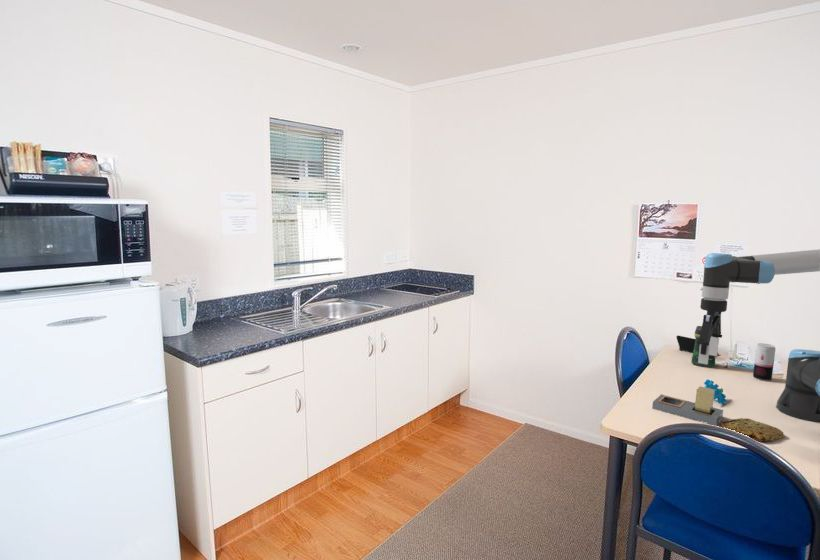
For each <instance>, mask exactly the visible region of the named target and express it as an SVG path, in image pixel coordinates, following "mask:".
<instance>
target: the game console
mask: <svg viewBox="0 0 820 560" xmlns="http://www.w3.org/2000/svg"><path fill="white" fill-rule="evenodd" d="M676 341H677V343H678V347H679V349H678V350H679V351H681V352H685V353H690V354H693V351H694V346H695V338H694V337H693V338H691V337H687V336H682V335H676ZM718 355H719V352H718V353H717V356H718Z"/></svg>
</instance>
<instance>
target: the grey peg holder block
mask: <svg viewBox="0 0 820 560" xmlns="http://www.w3.org/2000/svg"><path fill="white" fill-rule="evenodd" d="M652 409H654V410H657V411H660V410H661V411H662V412H664V411H665V412H664V413H668V412H669V413H668V414H671V413H673V414H672V415H675V414H677V415H676V416H679V415H680V416H679V417H682V416H683V418H686V419H690V420H693V421H694V420H695V421H697V422H701V421H703V422H702V423H704V422H707V423H706V424H708V425H713V426H715V425H718V424H719V423H720V421H721V420H722V419H723V417H724V409H720V408H716V407H713V410H712V415H709V414H705V413H701V412H698V411H695V402H693V401H690V400H689V401H688V400H685V399H681V398H677V397H673V396H670V395H665V394H660V395H659V396H658V397H656V398H655V399H654V400H653V401H652ZM661 411H660V412H661ZM698 420H699V421H698Z"/></svg>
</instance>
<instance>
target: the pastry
mask: <svg viewBox="0 0 820 560" xmlns="http://www.w3.org/2000/svg"><path fill="white" fill-rule="evenodd" d="M720 426H721V428H723V427H725V428H728V429H731V430H735V431H736V432H739V433H742V434H744V435H747V436H749V437H751V438H750V439H752V438H753V439H752V440H754V439H755V440H754V441H756V440H757V441H756V442H769V441H770V442H771V441H772V442H773V441H775V440H780V439H784V437H785V434H784V431H782V430H781V429H779V428H778V427H775V426H772V425H770V424H767V423H764V422H760V421H756V420H753V419H751V418H743V417H740V418H734V419H731V420H727V421H725V420H724V421H721V423H720Z"/></svg>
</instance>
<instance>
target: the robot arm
mask: <svg viewBox="0 0 820 560" xmlns="http://www.w3.org/2000/svg"><path fill="white" fill-rule="evenodd" d="M704 259H705V260H704V261H705V262H704V265H703V279H702V280H703V281H702V287H701V288H700V291H701V297H702V298H701V299H700V309H701V310H703V311H706V314H704V315H703V320H702V325H701V326H702V328H701V333H700V338H699V341H697V344H700V348H699V358H698V363H702V364H708V357H709V355H713V356H715V357H718V355H717V353H718V354H719V352H718V351H719V343H720V338H723V334H722V321H721V320H722V313H725V312H726V311H727V309H728V298H729V291H730V283H745V284H746V283H747V284H757V285H761V284H770V283H771V282H772V281H773V279H774V278H775V276H777V275H789V274H803V273H816V272H820V249H819V248H818V249H810V250H797V251H787V252H777V253H768V254H767V253H766V254H757V255H745V256H743V255H742V256H735V255H733V254H731V253H718V252H716V253H715V252H710V253H707V255H706V256H705V258H704ZM711 336H712V337H711ZM787 359H788V360H787V368H786V369H787V370H786V376H785V377H786V378H785V386H784V389H783V391H782V393H781V394H780V395H779V397H778V399H777V400H776V407H775V408H776V409H777V410H778V411H779V412H781V413H782V414H786V415H787V416H791V417H793V418H798V419H801V420H805V421H811V422H820V350H813V349H812V350H811V349H803V348H802V349H799V348H795V349H792V350H790V352H789V355H788V358H787Z"/></svg>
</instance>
